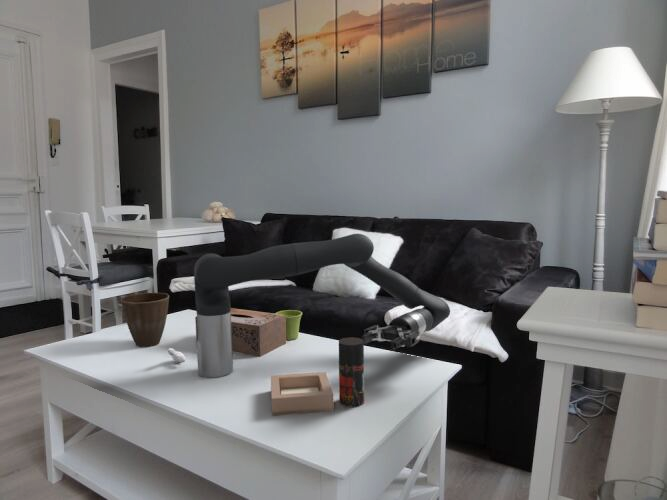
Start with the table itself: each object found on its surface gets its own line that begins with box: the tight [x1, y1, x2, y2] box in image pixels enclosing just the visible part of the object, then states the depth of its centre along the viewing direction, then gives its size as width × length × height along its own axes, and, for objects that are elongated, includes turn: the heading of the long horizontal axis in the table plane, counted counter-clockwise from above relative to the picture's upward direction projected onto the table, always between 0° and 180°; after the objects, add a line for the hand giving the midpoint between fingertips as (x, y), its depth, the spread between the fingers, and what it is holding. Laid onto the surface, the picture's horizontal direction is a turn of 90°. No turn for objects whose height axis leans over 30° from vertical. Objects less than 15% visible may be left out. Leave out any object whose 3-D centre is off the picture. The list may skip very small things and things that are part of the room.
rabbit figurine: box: [167, 347, 186, 366], centre depth 144 cm, size 6×4×8 cm
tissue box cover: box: [194, 307, 287, 358], centre depth 162 cm, size 26×14×10 cm, turn 63°
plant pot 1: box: [120, 292, 170, 348], centre depth 163 cm, size 15×15×16 cm
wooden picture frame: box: [270, 371, 334, 416], centre depth 118 cm, size 14×14×4 cm
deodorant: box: [338, 336, 365, 408], centre depth 116 cm, size 6×6×15 cm
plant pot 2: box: [274, 309, 303, 341], centre depth 168 cm, size 9×9×9 cm
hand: (377, 343), depth 125 cm, fingers open, 8 cm apart
